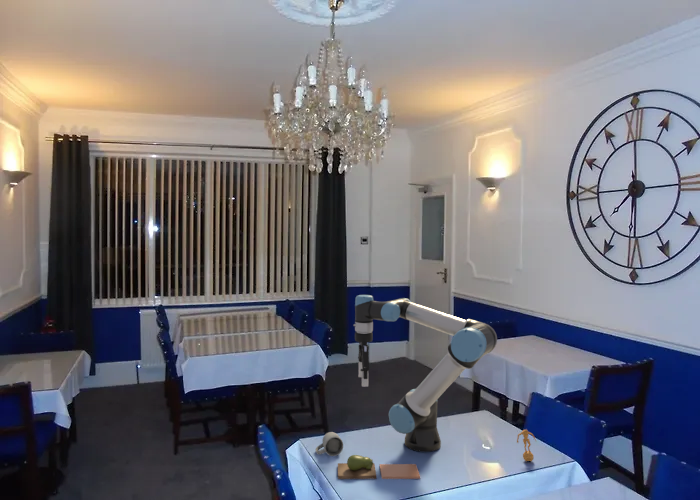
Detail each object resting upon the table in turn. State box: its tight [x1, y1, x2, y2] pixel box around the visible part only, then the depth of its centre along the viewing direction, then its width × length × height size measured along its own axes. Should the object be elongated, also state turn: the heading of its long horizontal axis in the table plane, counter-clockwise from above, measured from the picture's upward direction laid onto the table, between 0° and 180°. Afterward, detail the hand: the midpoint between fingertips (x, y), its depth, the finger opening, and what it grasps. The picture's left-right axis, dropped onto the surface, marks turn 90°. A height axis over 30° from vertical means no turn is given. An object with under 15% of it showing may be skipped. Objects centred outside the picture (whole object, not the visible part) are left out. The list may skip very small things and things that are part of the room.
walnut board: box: [337, 462, 377, 480], centre depth 194 cm, size 14×10×1 cm
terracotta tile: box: [379, 463, 421, 480], centre depth 194 cm, size 14×10×1 cm
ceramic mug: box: [315, 431, 344, 457], centre depth 211 cm, size 11×8×8 cm
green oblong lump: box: [346, 454, 374, 471], centre depth 194 cm, size 6×5×10 cm
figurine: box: [516, 429, 537, 462], centre depth 206 cm, size 8×6×12 cm
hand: (363, 381), depth 220 cm, fingers open, 13 cm apart
